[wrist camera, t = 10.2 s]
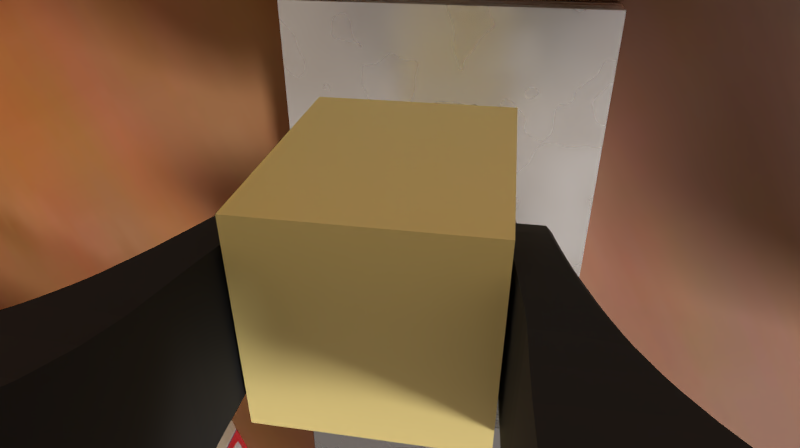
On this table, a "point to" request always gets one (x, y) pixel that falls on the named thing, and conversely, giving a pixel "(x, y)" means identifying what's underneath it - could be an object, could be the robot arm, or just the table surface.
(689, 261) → the table surface
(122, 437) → the robot arm
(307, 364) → the pale yellow cube
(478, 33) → the trolley wheel
